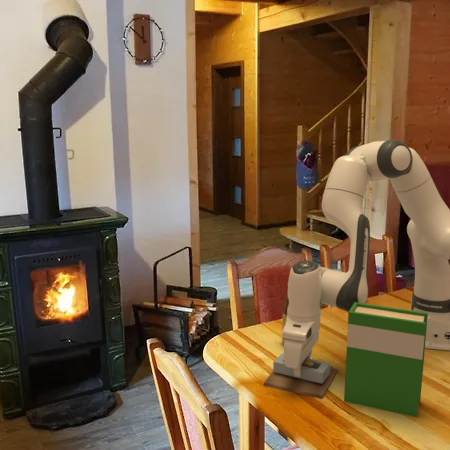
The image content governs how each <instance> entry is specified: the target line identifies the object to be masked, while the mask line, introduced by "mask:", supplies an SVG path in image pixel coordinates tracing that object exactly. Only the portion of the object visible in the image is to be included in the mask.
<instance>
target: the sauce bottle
mask: <svg viewBox="0 0 450 450" xmlns="http://www.w3.org/2000/svg"><path fill="white" fill-rule="evenodd" d="M286 289H287V291H286V292H287V294H286V297H287V298H286V299H285V300H284V303H283V305H282V307H283V308H282V310H283V311H282V327H281V328H282V329H281V331H283V328H284V326H285V324H286V319H287V309H288V306H289V299H288V282H287V283H286ZM281 340H282V343H281V344H282V346H284V340H285V338H283V337H282V336H281Z"/></svg>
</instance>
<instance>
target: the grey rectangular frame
mask: <svg viewBox="0 0 450 450" xmlns="http://www.w3.org/2000/svg"><path fill="white" fill-rule="evenodd" d="M307 361H309V362H313V367H308V366H307V367H305V366H301V369H302V374H301V376H300V377H297V378H301V379H305V380H309V381H313V382H317V383H323V382H324V381H325V379H326V378H327V377H328V375H329V374H330V367H331V362H327V361H323V360H318V359H313V358H310V359H309V358H307ZM272 366H273V369H272V372H276V373H280V374H284V375H289V376H293V377H296V376H294V369H292V368H288V367H286V366H285V363H284V352H282V353H281V354H279V356H277V358H276V359H274V360H273V365H272Z"/></svg>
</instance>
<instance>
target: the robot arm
mask: <svg viewBox="0 0 450 450" xmlns="http://www.w3.org/2000/svg"><path fill="white" fill-rule="evenodd" d="M386 179H389V181H390V183H391V186H392V188H393V190H394V192H395V195H396V196H397V199H398V200H399V202H400V204H401V206H402V209H403V211H404V213H405V214H406V215H407V216H408V217H409V219H410V220H409V222H408V224H407V227H406V232H407V235H408V238H409V239H410V243H411V248H412V255H413V262H414V286H413V291H412V294H411V299H410V310H412V311H419V312H426V313H428V318H427V329H426V341H425V349H431V350H441V351H450V262H449V260H450V208H449V207H448V205H447V204H446V203H445V201H444V200H443V197H441V194H440V192H439V190H438V189H437V187H436V184H435V182H434V180H433V178H432V176H431V174H430V171H429V170H428V168H427V166H426V164H425V163H424V161H423V159H422V158H421V156H420V154H419V153H417V151H416V150H415V149H414V148H412V147H409V146H408V145H407V144H406V143H405V142H403V141H401V140H396V139H388V140H376V141H371V142H370V143H365V144H360V145H357V146H356V145H355V146H354V147H351V148H350V149H349V150H348V151H347V152H346V153H345V154H344V155H342V156H340V157H338V158H337V159H336V160H335V162H334V163H333V166H332V167H331V170H330V172H329V174H328V177H327V181H326V184H325V188H324V190H323V195H322V200H321V210H322V213H323V215H324V216H325V218H326V219H327V221H328V222H330V223H331V224H333V225H334V226H336V227H337V228H339V229H340V230H342V231H343V232H344V233H345V234H346V235H347V236H348V237H349V241H350V247H349V248H350V249H349V250H350V251H349V262H348V271H347V272H345V271H341V270H336V269H331V268H328V267H323V266H320V264H319V263H317V262H316V261H313V260H300V261H298V262H295V263H294V264H293V265H292V266H291V269H290V270H289V276H288V282H287V283H288V299H289V306H288V309H287V319H286V324H285V326H284V328H283V331H282V330H281V331H282V332H281V334H282V335H281V338H282V337H283V338H285V340H284V345H283V353H284V363H285V366H286V367H288V368H292V369H294V376H296V377H300V376H301V374H302V369H301V364H302V363H303V361H304V360H305V359H306V357H307V358H309V359H311V356H312V352H313V349H314V347H315V346H316V344H317V343H318V342H319V337H320V329H321V313H322V311H321V306H320V304H324V305H326V306H332V307H335V308H337V309H339V310H342V311H345V312H348V313H349V311H350V309H351V307H352V306H353V304H354V302H357V303H364V304H367V302H368V297H369V280H368V279H369V276H368V274H369V273H368V271H369V258H370V257H369V256H370V242H371V224H370V219H369V218H368V217H367V215H365V213H364V205H363V204H364V199H365V196H366V195H365V194H366V189H367V184H368V183H369V181H370V182H371V181H373V182H374V181H382V180H386Z"/></svg>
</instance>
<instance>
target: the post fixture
mask: <svg viewBox="0 0 450 450" xmlns="http://www.w3.org/2000/svg"><path fill="white" fill-rule="evenodd" d="M301 366H305V367H307V366H308V367H313V362H309V361H307V357H306V359H305V360H304V361H303V363H302V364H301ZM337 373H338V368H336V367H332V366H330V374H329V375H328V377H327V378H326V379H325V381H324V382H323V383H317V382H313V381H309V380H305V379H301V378H297V377H293V376H289V375H284V374H280V373H276V372H273V371H271V373H270V374H269V375H268V376H267V378H266V379H265V381H264V382H263V386H265V387H270V388H274V389H279V390H283V391H287V392H291V393H296V394H301V395H305V396H309V397H314V398H317V399H321V400H322V399H324V398H325V395H326V393H327V391H328V390H329V388H330V386H331V385H332V382H333V381H334V378H335V376H337Z"/></svg>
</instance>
